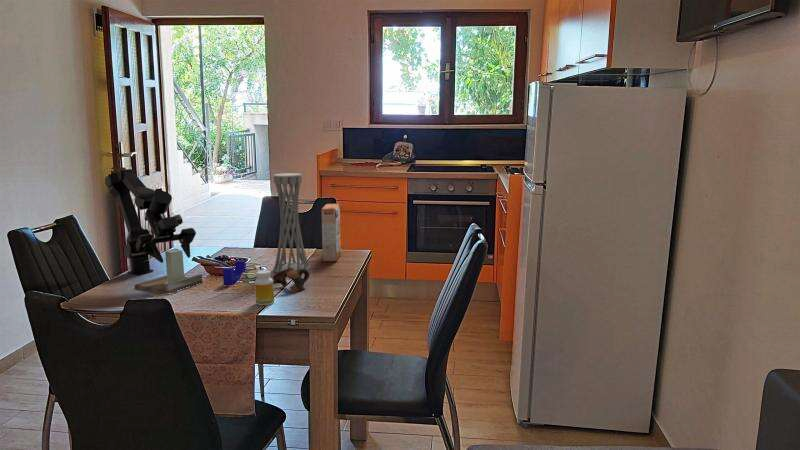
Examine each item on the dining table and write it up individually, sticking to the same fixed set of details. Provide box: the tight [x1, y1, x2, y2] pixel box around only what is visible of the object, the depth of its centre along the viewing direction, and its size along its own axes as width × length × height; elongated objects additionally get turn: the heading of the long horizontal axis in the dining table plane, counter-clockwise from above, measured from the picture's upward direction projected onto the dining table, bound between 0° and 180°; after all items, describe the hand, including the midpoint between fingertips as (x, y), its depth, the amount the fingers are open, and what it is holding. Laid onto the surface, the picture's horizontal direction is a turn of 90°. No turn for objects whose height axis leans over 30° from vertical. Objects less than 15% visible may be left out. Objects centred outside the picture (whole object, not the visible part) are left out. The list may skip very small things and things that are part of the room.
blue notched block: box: [222, 259, 247, 286], centre depth 203 cm, size 12×4×6 cm, turn 172°
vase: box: [272, 172, 311, 274], centre depth 215 cm, size 14×13×35 cm
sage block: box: [164, 248, 185, 283], centre depth 195 cm, size 4×4×11 cm
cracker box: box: [321, 203, 342, 262], centre depth 234 cm, size 14×6×21 cm, turn 179°
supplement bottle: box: [254, 269, 275, 306], centre depth 177 cm, size 5×5×10 cm
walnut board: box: [134, 273, 203, 294], centre depth 198 cm, size 16×14×3 cm
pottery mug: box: [271, 267, 310, 294], centre depth 193 cm, size 12×10×8 cm
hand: (176, 259), depth 194 cm, fingers open, 9 cm apart
